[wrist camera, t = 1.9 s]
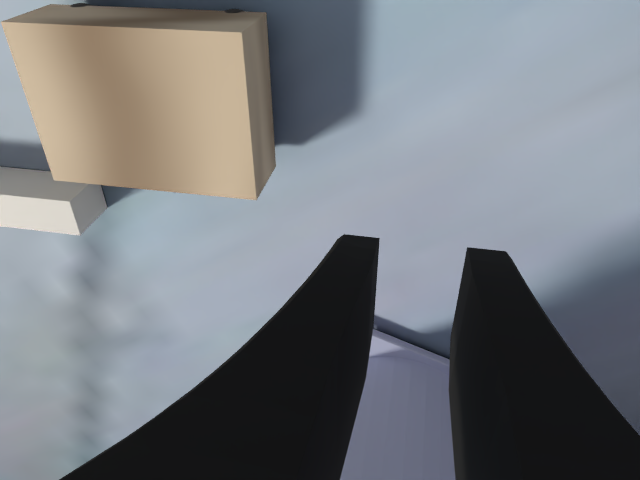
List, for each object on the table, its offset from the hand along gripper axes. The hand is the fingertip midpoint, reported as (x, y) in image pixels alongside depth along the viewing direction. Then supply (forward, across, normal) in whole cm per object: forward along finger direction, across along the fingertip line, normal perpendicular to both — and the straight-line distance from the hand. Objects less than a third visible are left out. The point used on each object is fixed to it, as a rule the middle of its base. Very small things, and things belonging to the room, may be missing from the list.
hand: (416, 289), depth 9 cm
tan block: (+9, +8, 0) cm, 13 cm away
